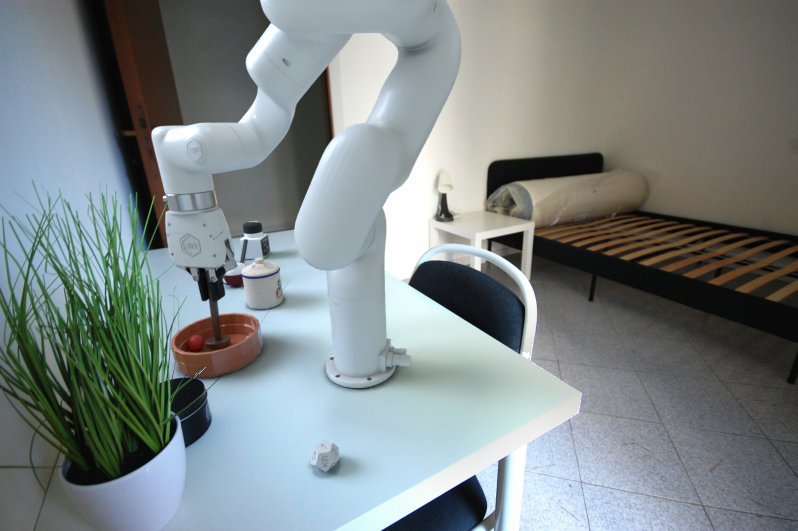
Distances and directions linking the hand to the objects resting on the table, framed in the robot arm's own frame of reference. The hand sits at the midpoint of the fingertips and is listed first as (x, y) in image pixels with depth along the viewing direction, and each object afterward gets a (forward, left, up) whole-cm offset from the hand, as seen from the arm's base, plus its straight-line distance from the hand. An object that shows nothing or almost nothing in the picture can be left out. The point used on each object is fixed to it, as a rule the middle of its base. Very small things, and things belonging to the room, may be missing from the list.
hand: (213, 298), depth 70 cm
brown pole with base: (0, +1, -9) cm, 10 cm away
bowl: (-1, +2, -11) cm, 11 cm away
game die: (-30, +23, -11) cm, 39 cm away
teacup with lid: (+3, -22, -11) cm, 25 cm away
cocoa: (+16, -31, -11) cm, 36 cm away
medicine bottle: (+24, -55, -11) cm, 61 cm away
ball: (+4, +2, -9) cm, 10 cm away
